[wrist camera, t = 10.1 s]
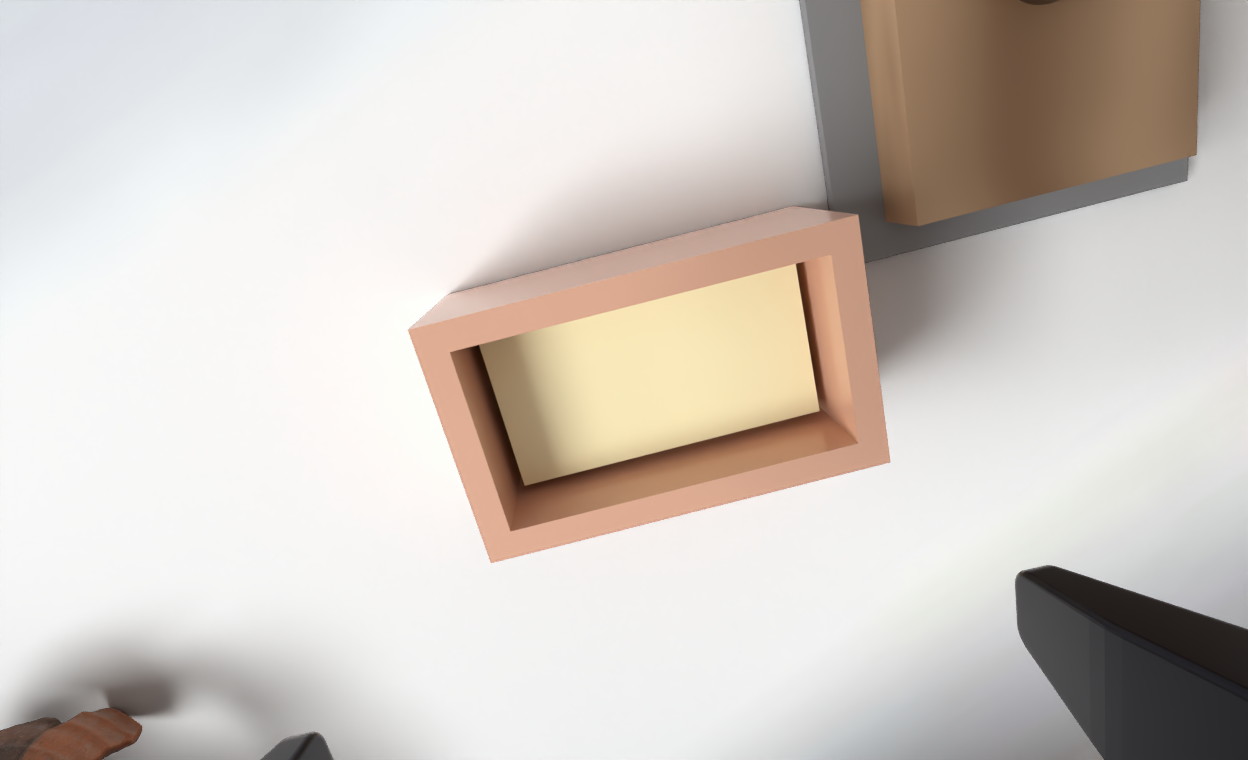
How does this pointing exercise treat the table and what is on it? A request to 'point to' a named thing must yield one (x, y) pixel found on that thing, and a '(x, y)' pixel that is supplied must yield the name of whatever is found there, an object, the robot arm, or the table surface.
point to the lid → (1024, 96)
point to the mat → (855, 153)
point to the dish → (680, 465)
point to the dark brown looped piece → (70, 737)
